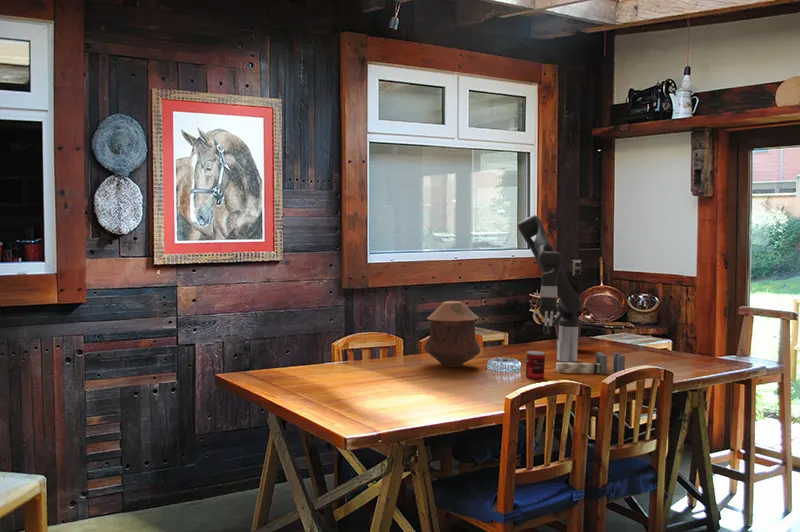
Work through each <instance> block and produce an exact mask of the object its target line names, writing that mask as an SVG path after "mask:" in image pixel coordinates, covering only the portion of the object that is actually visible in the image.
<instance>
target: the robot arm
mask: <svg viewBox="0 0 800 532" xmlns="http://www.w3.org/2000/svg"><path fill="white" fill-rule="evenodd" d="M517 229H518V230H519V232H520V234H521V236H522V238H523V239H524V241H525V242H526V244H527V245H528V247H529V249H530V251H531V252H532V254H533V256H534V258H535V260H536V262H537V265H538V266H539V268H540V270H541V272H542V274H541V280H540V281H541V284H540V286H541V287H540V293H539V296H540V297H539V308H538V310H537V311H536V312H534V313H533V316H534V317H535V319H536V320H537V321H538V323H539V325H543V326H542V327H543V328H542V329H543V331H542V332H543V333H544V335H550V334H552V330H553V329H552V327H553V326H555V325H556V323H557V322H558V321H559V340H558V339H557V344H556V360H557V361H559V362H565V363H577V360H578V347H579V346H578V345H579V343H578V341H579V339H578V320H579V319H578V315H577V314H578V313H577V312H579V310H580V309H581V307H582V301H581V299H580V298H581V297H580V296H579V295H578V294H577V292H576V291H575V289H574V288H573V287H572V285H571V284H570V282H569V280H568V277H567V275H566V272H565V271H564V269H563V267H562V264H563V263H562V262H563V256H562V254H561V253H560V252H559V251H554V248H553V246H552V244H551V243H550V240H549V239H548V236H547V233H546V229H545V227H544V225H543V222H542V220H541V219H540V217H539V216H538V215H536V214H533V215H530V216H528V217H527V218H525V219H523V220H521V221H519V222H518V224H517ZM533 237H535V238H534V240H533V239H532V238H533ZM558 297H559V299H558ZM540 316H542V319H541V317H540ZM555 316H556V317H555Z"/></svg>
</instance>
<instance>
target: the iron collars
mask: <svg viewBox="0 0 800 532" xmlns="http://www.w3.org/2000/svg"><path fill="white" fill-rule="evenodd" d="M594 363H600V374H599V375H601V374H607V372H608V371H607V370H608V369H607V368H608V355H607V354H605V353H603V352H599V351H598V352H597V351H596V352H595V362H594ZM625 364H626V356H625V355H624V354H622V353H620V352H612V372H613V371H614V372H613V373H617V372H618V371H621V370H624V371H625V369H626V368H625Z"/></svg>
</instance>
